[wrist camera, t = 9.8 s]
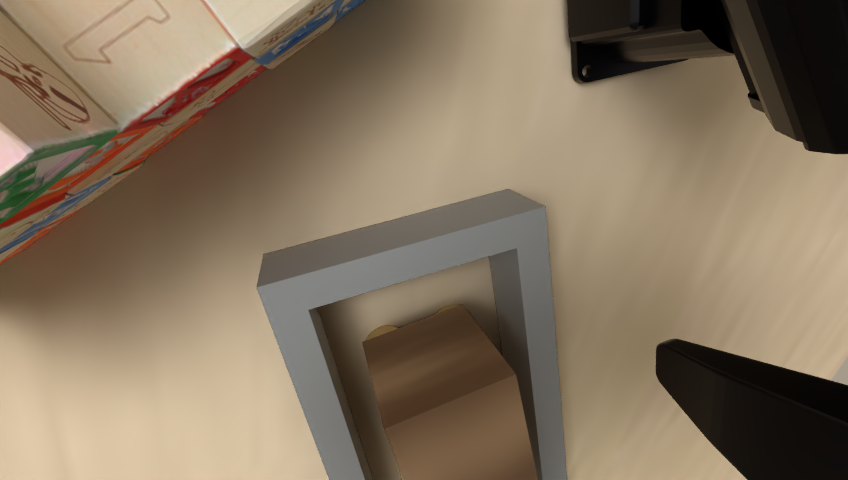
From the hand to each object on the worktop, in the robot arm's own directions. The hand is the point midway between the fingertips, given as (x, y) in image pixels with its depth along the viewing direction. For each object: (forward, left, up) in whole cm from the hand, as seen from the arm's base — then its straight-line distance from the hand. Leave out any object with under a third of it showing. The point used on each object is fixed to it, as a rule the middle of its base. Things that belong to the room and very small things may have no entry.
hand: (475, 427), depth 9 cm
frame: (-1, +10, -12) cm, 16 cm away
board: (-1, +10, -10) cm, 14 cm away
